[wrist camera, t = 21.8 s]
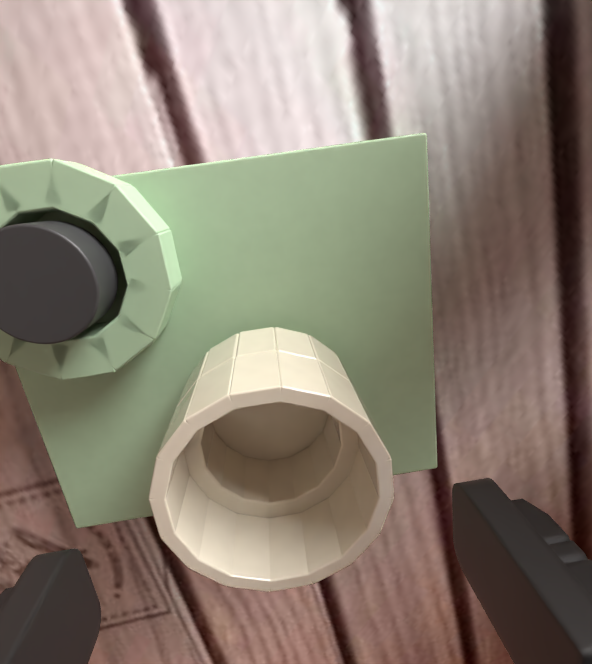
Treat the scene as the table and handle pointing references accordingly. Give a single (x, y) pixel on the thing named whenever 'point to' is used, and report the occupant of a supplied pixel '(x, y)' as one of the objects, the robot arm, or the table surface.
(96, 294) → the button
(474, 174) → the table surface
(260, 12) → the table surface
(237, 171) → the scale
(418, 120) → the table surface
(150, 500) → the cream cup
